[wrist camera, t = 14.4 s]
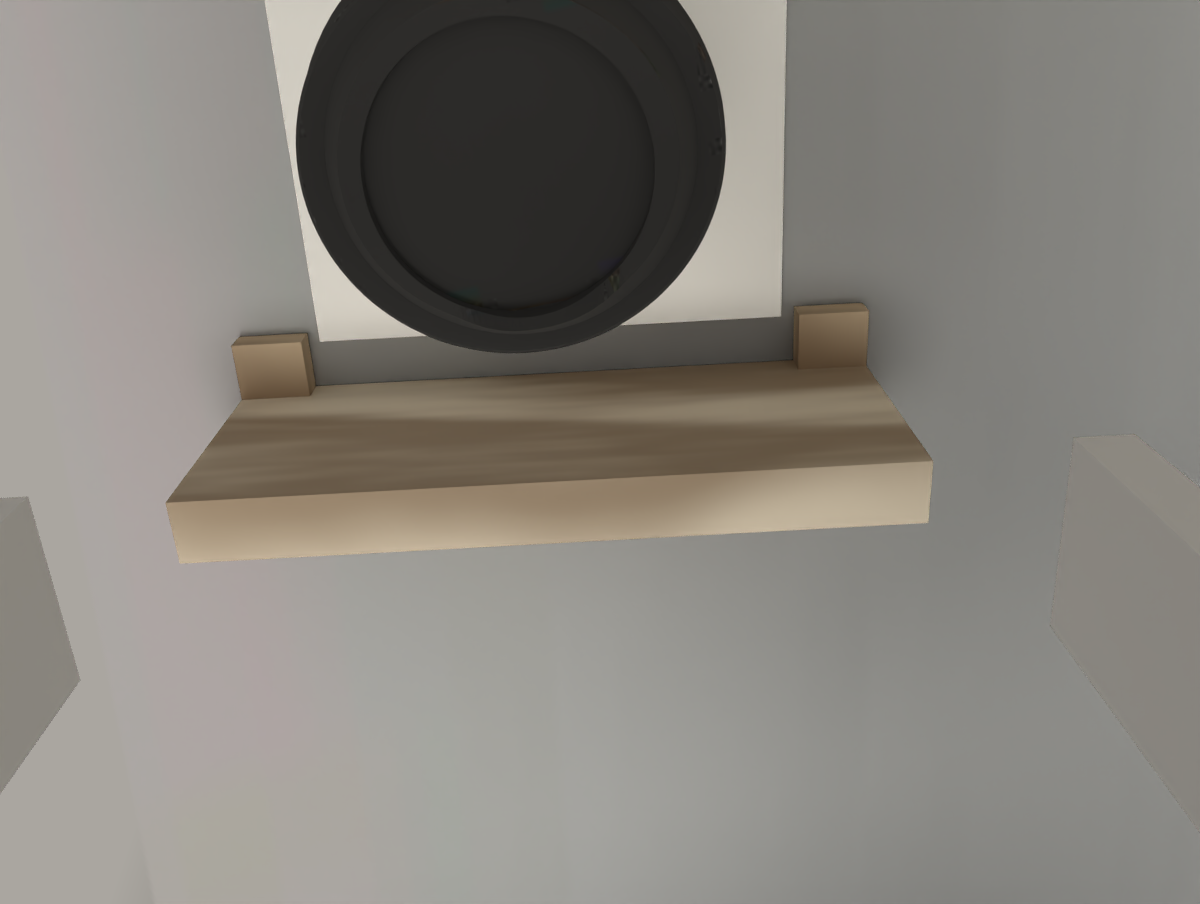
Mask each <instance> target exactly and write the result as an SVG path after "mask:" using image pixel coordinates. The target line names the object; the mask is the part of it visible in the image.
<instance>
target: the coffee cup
mask: <svg viewBox="0 0 1200 904" xmlns="http://www.w3.org/2000/svg"><path fill="white" fill-rule="evenodd" d="M296 159H297V168H298V175H299V181H300V185H301V190H302V194H303V197H304V201H305V204H306V207H307V210H308V213H309V215H310V218H311V220H312V223H313V225H314V227H315V229H316V231H317V233H318V235H319V237H320V239H321V241H322V243H323V245H324V246H325V248H326V250H327V251H328V253H329V254H330V256H331V257H332V259H333V260H334V262H335V263H336V265H337V266H338V267H339V269H340V270H341V271H342V272H343V274H344V275H345V276H346V277H347V278H348V279H349V281H350V282H351V283H352V284H353V285H354V286H355V287H356V288H357V289H358V290H359V291H360V292H361V293H362V294H363V295H364V296H365V297H366V298H368V299H369V300H370V301H371V302H372V303H374V304H375V305H376V306H377V307H379V308H380V309H381V310H383V311H384V312H385V313H387V314H388V315H390V316H391V317H393V318H394V319H396V320H397V321H399V322H401V323H402V324H404V325H406V326H408V327H410V328H412V329H414V330H416V331H418V332H420V333H422V334H424V335H427V336H429V337H431V338H434V339H437V340H439V341H442V342H445V343H449V344H452V345H456V346H459V347H464V348H468V349H473V350H479V351H487V352H498V353H528V352H539V351H546V350H552V349H557V348H562V347H566V346H570V345H573V344H577V343H580V342H583V341H586V340H589V339H591V338H594V337H596V336H599V335H601V334H603V333H605V332H607V331H609V330H611V329H613V328H615V327H617V326H619V325H621V324H622V323H624V322H626V321H627V320H629V319H631V318H632V317H634V316H635V315H637V314H638V313H639V312H641V311H642V310H643V309H645V308H646V307H647V306H649V305H650V304H651V303H652V302H653V301H655V300H656V299H657V298H658V297H659V296H660V295H661V294H662V293H663V292H664V291H665V290H666V289H667V288H668V287H669V286H670V285H671V284H672V283H673V282H674V281H675V280H676V278H677V277H678V276H679V275H680V274H681V272H682V271H683V270H684V268H685V267H686V266H687V264H688V263H689V262H690V260H691V259H692V257H693V255H694V254H695V252H696V251H697V249H698V247H699V246H700V244H701V242H702V240H703V238H704V236H705V234H706V232H707V230H708V228H709V225H710V223H711V220H712V218H713V215H714V212H715V210H716V206H717V203H718V200H719V196H720V192H721V188H722V183H723V177H724V170H725V159H726V130H725V118H724V109H723V102H722V97H721V92H720V87H719V83H718V80H717V76H716V73H715V70H714V67H713V64H712V61H711V58H710V56H709V53H708V51H707V49H706V46H705V44H704V42H703V40H702V38H701V36H700V34H699V32H698V30H697V29H696V27H695V25H694V23H693V22H692V20H691V19H690V17H689V15H688V14H687V12H686V11H685V9H684V8H683V7H682V5H681V4H680V3H679V1H678V0H341V1H340V2H339V4H338V5H337V7H336V8H335V10H334V11H333V13H332V14H331V16H330V18H329V20H328V22H327V23H326V25H325V27H324V29H323V31H322V33H321V35H320V38H319V40H318V42H317V44H316V47H315V50H314V53H313V55H312V58H311V61H310V64H309V68H308V72H307V75H306V78H305V82H304V85H303V88H302V93H301V97H300V102H299V107H298V114H297V123H296Z"/></svg>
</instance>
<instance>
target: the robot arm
mask: <svg viewBox="0 0 1200 904" xmlns="http://www.w3.org/2000/svg"><path fill="white" fill-rule="evenodd" d="M1050 627H1051V628H1052V629H1053V631H1054V632H1055V634H1056V635H1057V636H1058V638H1059V639H1060V641H1061V642H1062V643H1063V645H1064V646H1065V647H1066V649H1067V650H1068V652H1069V653H1070V654H1071V656H1072V657H1073V658H1074V660H1075V661H1076V663H1077V664H1078V665H1079V667H1080V668H1081V670H1082V671H1083V672H1084V674H1085V675H1086V676H1087V678H1088V679H1089V681H1090V682H1091V683H1092V685H1093V686H1094V687H1095V689H1096V690H1097V692H1098V693H1099V694H1100V696H1101V697H1102V698H1103V700H1104V701H1105V703H1106V704H1107V705H1108V707H1109V708H1110V710H1111V711H1112V712H1113V714H1114V715H1115V716H1116V718H1117V719H1118V721H1119V722H1120V723H1121V725H1122V726H1123V727H1124V729H1125V730H1126V732H1127V733H1128V734H1129V736H1130V737H1131V739H1132V740H1133V741H1134V743H1135V744H1136V745H1137V747H1138V748H1139V750H1140V751H1141V752H1142V754H1143V755H1144V756H1145V758H1146V759H1147V761H1148V762H1149V763H1150V765H1151V766H1152V767H1153V769H1154V770H1155V772H1156V773H1157V774H1158V776H1159V777H1160V779H1161V780H1162V781H1163V783H1164V784H1165V785H1166V787H1167V788H1168V790H1169V791H1170V792H1171V794H1172V795H1173V796H1174V798H1175V799H1176V801H1177V802H1178V803H1179V805H1180V806H1181V808H1182V809H1183V810H1184V812H1185V813H1186V814H1187V816H1188V817H1189V819H1190V820H1191V821H1192V823H1193V824H1194V825H1195V827H1196V828H1197V830H1198V831H1199V832H1200V488H1199V487H1198V486H1197V485H1196V484H1195V483H1193V482H1192V481H1191V480H1190V479H1189V478H1187V477H1186V476H1185V475H1184V474H1183V473H1181V472H1180V471H1179V470H1178V469H1176V468H1175V467H1174V466H1173V465H1172V464H1170V463H1169V462H1168V461H1167V460H1166V459H1164V458H1163V457H1162V456H1161V455H1160V454H1158V453H1157V452H1156V451H1155V450H1153V449H1152V448H1151V447H1150V446H1149V445H1147V444H1146V443H1145V442H1144V441H1143V440H1141V439H1140V438H1139V437H1138V436H1137V435H1135V434H1129V435H1111V436H1094V437H1076V438H1074V439H1073V447H1072V455H1071V463H1070V471H1069V479H1068V487H1067V495H1066V503H1065V510H1064V518H1063V526H1062V534H1061V542H1060V550H1059V558H1058V566H1057V574H1056V582H1055V590H1054V598H1053V606H1052V614H1051V622H1050ZM79 681H80V677H79V674H78V670H77V666H76V663H75V660H74V656H73V652H72V649H71V646H70V642H69V639H68V635H67V631H66V628H65V625H64V621H63V617H62V614H61V611H60V607H59V603H58V600H57V596H56V593H55V589H54V586H53V582H52V579H51V576H50V572H49V568H48V565H47V561H46V558H45V554H44V551H43V548H42V544H41V540H40V537H39V534H38V530H37V526H36V523H35V519H34V516H33V512H32V509H31V505H30V502H29V498H28V497H12V498H0V794H1V792H2V791H3V789H4V788H5V786H6V785H7V784H8V782H9V781H10V779H11V778H12V777H13V775H14V774H15V772H16V771H17V769H18V768H19V767H20V765H21V764H22V762H23V761H24V760H25V758H26V757H27V755H28V754H29V752H30V751H31V750H32V748H33V747H34V745H35V744H36V742H37V741H38V740H39V738H40V736H41V735H42V734H43V733H44V731H45V730H46V728H47V727H48V725H49V724H50V723H51V721H52V720H53V718H54V717H55V715H56V714H57V713H58V711H59V710H60V708H61V707H62V705H63V704H64V703H65V701H66V700H67V698H68V697H69V696H70V694H71V693H72V691H73V690H74V688H75V687H76V686H77V684H78V683H79Z"/></svg>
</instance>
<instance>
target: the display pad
mask: <svg viewBox="0 0 1200 904" xmlns="http://www.w3.org/2000/svg"><path fill="white" fill-rule="evenodd" d="M340 1H341V0H265V6H266V12H267V19H268V25H269V31H270V37H271V43H272V49H273V56H274V62H275V68H276V74H277V80H278V86H279V93H280V99H281V105H282V111H283V117H284V123H285V130H286V136H287V142H288V148H289V154H290V160H291V167H292V173H293V179H294V185H295V191H296V197H297V204H298V210H299V216H300V222H301V228H302V234H303V241H304V247H305V253H306V259H307V265H308V271H309V278H310V284H311V290H312V296H313V302H314V308H315V315H316V321H317V327H318V333H319V339H320V342H325V341H343V340H361V339H379V338H398V337H416V336H427V335H424V334H422V333H420V332H418V331H416V330H414V329H412V328H410V327H408V326H406V325H404V324H402V323H401V322H399V321H397V320H396V319H394V318H393V317H391V316H390V315H388V314H387V313H385V312H384V311H383V310H381V309H380V308H379V307H377V306H376V305H375V304H374V303H372V302H371V301H370V300H369V299H368V298H366V297H365V296H364V295H363V294H362V293H361V292H360V291H359V290H358V289H357V288H356V287H355V286H354V285H353V284H352V283H351V282H350V281H349V279H348V278H347V277H346V276H345V275H344V274H343V272H342V271H341V270H340V269H339V267H338V266H337V265H336V263H335V262H334V260H333V259H332V257H331V256H330V254H329V253H328V251H327V250H326V248H325V246H324V245H323V243H322V241H321V239H320V237H319V235H318V233H317V231H316V229H315V227H314V225H313V223H312V220H311V218H310V215H309V213H308V210H307V207H306V204H305V201H304V197H303V194H302V190H301V185H300V181H299V175H298V168H297V159H296V123H297V114H298V107H299V102H300V97H301V93H302V88H303V85H304V82H305V78H306V75H307V72H308V68H309V64H310V61H311V58H312V55H313V53H314V50H315V47H316V44H317V42H318V40H319V38H320V35H321V33H322V31H323V29H324V27H325V25H326V23H327V22H328V20H329V18H330V16H331V14H332V13H333V11H334V10H335V8H336V7H337V5H338V4H339V2H340ZM678 1H679V3H680V4H681V5H682V7H683V8H684V9H685V11H686V12H687V14H688V15H689V17H690V19H691V20H692V22H693V23H694V25H695V27H696V29H697V30H698V32H699V34H700V36H701V38H702V40H703V42H704V44H705V46H706V49H707V51H708V53H709V56H710V58H711V61H712V64H713V67H714V70H715V73H716V76H717V80H718V83H719V87H720V92H721V97H722V102H723V109H724V118H725V130H726V159H725V170H724V177H723V183H722V188H721V192H720V196H719V200H718V203H717V206H716V210H715V212H714V215H713V218H712V220H711V223H710V225H709V228H708V230H707V232H706V234H705V236H704V238H703V240H702V242H701V244H700V246H699V247H698V249H697V251H696V252H695V254H694V255H693V257H692V259H691V260H690V262H689V263H688V264H687V266H686V267H685V268H684V270H683V271H682V272H681V274H680V275H679V276H678V277H677V278H676V280H675V281H674V282H673V283H672V284H671V285H670V286H669V287H668V288H667V289H666V290H665V291H664V292H663V293H662V294H661V295H660V296H659V297H658V298H657V299H656V300H655V301H653V302H652V303H651V304H650V305H649V306H647V307H646V308H645V309H643V310H642V311H641V312H639V313H638V314H637V315H635V316H634V317H632V318H631V319H629V320H627V321H626V322H624V323H622V324H621V325H635V324H653V323H672V322H690V321H708V320H727V319H745V318H763V317H781V298H782V240H783V183H784V125H785V68H786V11H787V0H678Z"/></svg>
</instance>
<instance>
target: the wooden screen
mask: <svg viewBox="0 0 1200 904" xmlns="http://www.w3.org/2000/svg"><path fill="white" fill-rule="evenodd" d="M868 324H869V310H868V309H867V308H866V307H865V306H864V304H863V303H849V304H831V305H813V306H794V340H793V360H786V361H767V362H749V363H731V364H712V365H694V366H676V367H657V368H639V369H621V370H603V371H584V372H566V373H548V374H529V375H511V376H493V377H474V378H456V379H438V380H420V381H401V382H383V383H365V384H346V385H328V386H316V383H315V377H314V371H313V365H312V359H311V353H310V347H309V341H308V335H307V333H301V334H283V335H265V336H246V337H239V338H238V339H237V340H236V341H235V342H234V344H233V345H232V346H231V347H232V352H233V357H234V362H235V367H236V372H237V378H238V383H239V388H240V393H241V398H242V401H241V402H240V403H239V405H238V406H237V407H236V409H235V410H234V411H233V413H232V414H231V415H230V417H229V418H228V419H227V421H226V422H225V423H224V425H223V426H222V428H221V429H220V430H219V432H218V433H217V434H216V436H215V437H214V438H213V440H212V441H211V442H210V444H209V445H208V446H207V448H206V449H205V450H204V452H203V453H202V454H201V456H200V457H199V459H198V460H197V461H196V463H195V464H194V465H193V467H192V468H191V469H190V471H189V472H188V473H187V475H186V476H185V477H184V479H183V480H182V481H181V483H180V484H179V485H178V487H177V488H176V489H175V491H174V492H173V494H172V495H171V496H170V498H169V499H168V500H167V502H166V507H167V511H168V515H169V520H170V524H171V528H172V532H173V536H174V541H175V545H176V549H177V553H178V557H179V562H180V564H181V563H200V562H218V561H236V560H255V559H273V558H292V557H310V556H328V555H347V554H365V553H384V552H402V551H420V550H439V549H457V548H476V547H494V546H512V545H531V544H549V543H568V542H586V541H604V540H623V539H641V538H660V537H678V536H696V535H715V534H733V533H752V532H770V531H788V530H807V529H825V528H844V527H862V526H880V525H899V524H917V523H928V520H929V508H930V496H931V483H932V471H933V460H932V459H931V457H930V456H929V454H928V453H927V451H926V450H925V449H924V447H923V446H922V444H921V443H920V441H919V440H918V439H917V437H916V436H915V434H914V433H913V432H912V430H911V429H910V427H909V426H908V424H907V423H906V422H905V420H904V419H903V417H902V416H901V414H900V413H899V412H898V410H897V409H896V407H895V406H894V405H893V403H892V402H891V400H890V399H889V397H888V396H887V395H886V393H885V392H884V390H883V389H882V387H881V386H880V385H879V383H878V382H877V380H876V379H875V378H874V376H873V375H872V373H871V372H870V370H869V369H868V368H867V366H866V363H867V343H868Z"/></svg>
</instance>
